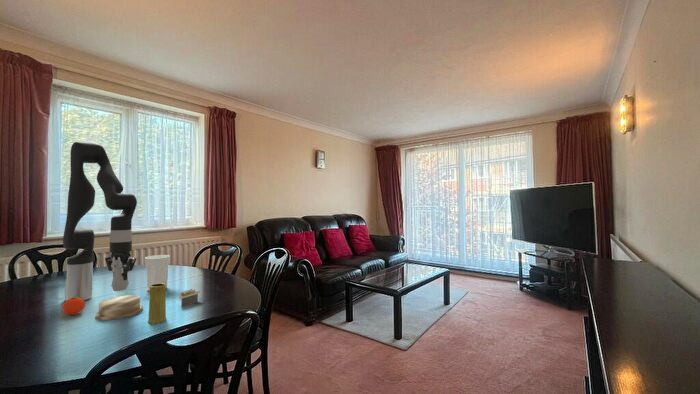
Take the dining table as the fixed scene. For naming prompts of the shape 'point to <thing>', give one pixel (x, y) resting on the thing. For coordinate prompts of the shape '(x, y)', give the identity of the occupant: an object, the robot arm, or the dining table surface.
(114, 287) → the salt shaker
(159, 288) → the vase
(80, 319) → the dining table surface
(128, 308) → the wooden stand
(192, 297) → the platform
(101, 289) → the dining table surface
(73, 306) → the clementine
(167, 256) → the cup
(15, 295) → the dining table surface
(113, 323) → the dining table surface
